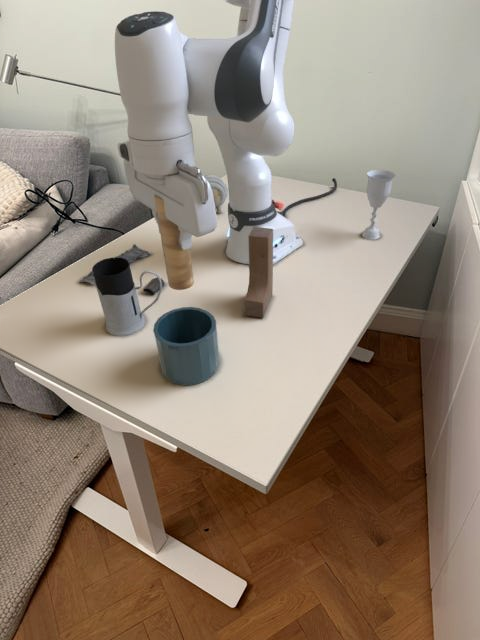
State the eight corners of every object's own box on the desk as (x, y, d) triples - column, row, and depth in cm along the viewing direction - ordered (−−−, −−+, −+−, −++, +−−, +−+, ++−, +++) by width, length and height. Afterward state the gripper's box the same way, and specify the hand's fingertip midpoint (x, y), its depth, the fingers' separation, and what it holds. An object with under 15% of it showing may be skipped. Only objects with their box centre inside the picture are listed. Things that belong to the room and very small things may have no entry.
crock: (198, 337, 94) (193, 299, 87) (230, 366, 86) (228, 327, 80) (151, 361, 88) (142, 323, 82) (181, 394, 81) (174, 355, 75)
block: (143, 294, 107) (141, 288, 106) (153, 281, 112) (152, 275, 111) (156, 296, 106) (155, 290, 105) (166, 283, 111) (165, 277, 110)
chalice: (356, 238, 126) (364, 177, 114) (360, 228, 131) (369, 168, 119) (382, 242, 123) (393, 180, 112) (385, 232, 128) (396, 171, 117)
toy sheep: (199, 220, 139) (196, 187, 132) (194, 200, 152) (191, 168, 145) (232, 217, 140) (230, 183, 133) (224, 197, 153) (222, 165, 146)
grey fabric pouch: (92, 289, 110) (90, 282, 109) (75, 280, 113) (73, 274, 112) (151, 255, 123) (150, 248, 122) (135, 248, 126) (133, 242, 125)
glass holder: (111, 311, 102) (96, 256, 93) (171, 311, 101) (162, 255, 92) (100, 336, 95) (83, 278, 86) (165, 335, 95) (154, 277, 85)
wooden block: (263, 318, 98) (263, 248, 87) (244, 315, 99) (241, 245, 88) (272, 296, 105) (273, 228, 93) (254, 293, 106) (253, 226, 95)
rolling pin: (185, 273, 78) (173, 186, 68) (198, 283, 75) (189, 194, 65) (163, 282, 76) (148, 193, 66) (177, 293, 73) (163, 202, 63)
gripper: (224, 165, 57) (229, 258, 65) (148, 134, 70) (161, 215, 78) (183, 178, 54) (194, 273, 62) (112, 142, 67) (129, 225, 75)
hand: (175, 240), depth 70 cm, fingers closed on rolling pin, 4 cm apart
